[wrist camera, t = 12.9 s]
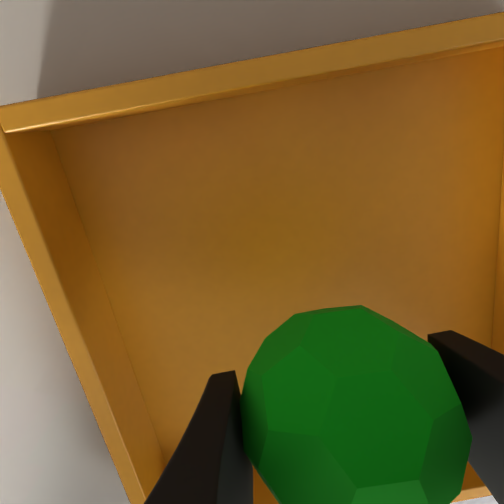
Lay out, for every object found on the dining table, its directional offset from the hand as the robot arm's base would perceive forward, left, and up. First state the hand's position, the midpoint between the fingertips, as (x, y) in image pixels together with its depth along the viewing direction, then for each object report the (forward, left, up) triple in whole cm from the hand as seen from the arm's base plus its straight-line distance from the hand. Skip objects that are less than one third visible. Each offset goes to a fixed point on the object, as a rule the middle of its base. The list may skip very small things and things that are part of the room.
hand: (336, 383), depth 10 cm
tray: (0, 0, -5) cm, 5 cm away
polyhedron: (0, 0, -2) cm, 2 cm away
